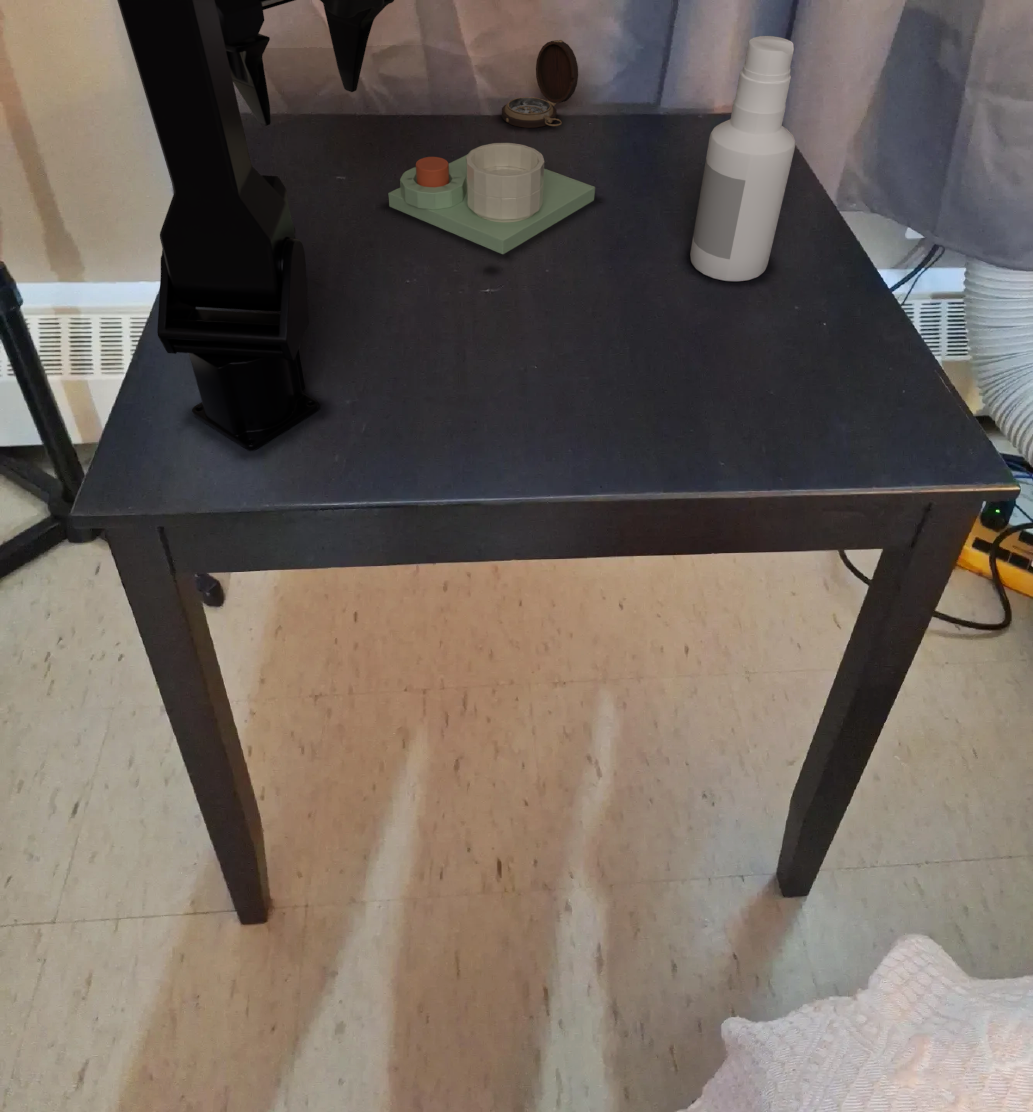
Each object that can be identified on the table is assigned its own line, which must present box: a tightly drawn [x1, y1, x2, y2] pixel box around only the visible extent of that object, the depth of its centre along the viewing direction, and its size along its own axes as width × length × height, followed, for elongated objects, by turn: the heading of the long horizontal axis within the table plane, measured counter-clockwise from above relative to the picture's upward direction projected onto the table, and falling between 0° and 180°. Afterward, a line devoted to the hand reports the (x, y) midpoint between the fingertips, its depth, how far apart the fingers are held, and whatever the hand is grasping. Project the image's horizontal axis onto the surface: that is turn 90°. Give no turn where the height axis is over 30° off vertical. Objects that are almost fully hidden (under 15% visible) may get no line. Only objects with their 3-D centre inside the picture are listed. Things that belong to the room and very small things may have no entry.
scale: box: [388, 154, 596, 255], centre depth 89 cm, size 14×14×3 cm
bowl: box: [465, 142, 545, 222], centre depth 85 cm, size 7×7×4 cm
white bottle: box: [689, 35, 796, 282], centre depth 77 cm, size 7×7×18 cm
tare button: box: [415, 156, 449, 187], centre depth 87 cm, size 3×3×2 cm
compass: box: [501, 39, 579, 129], centre depth 102 cm, size 8×8×7 cm
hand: (308, 106), depth 75 cm, fingers open, 9 cm apart
